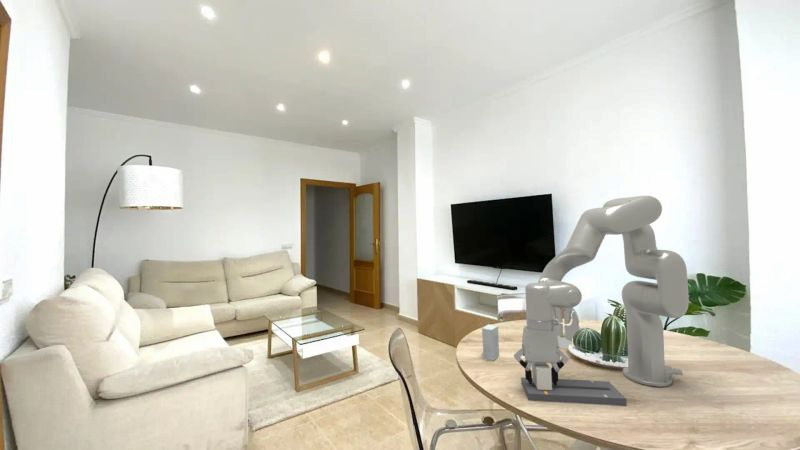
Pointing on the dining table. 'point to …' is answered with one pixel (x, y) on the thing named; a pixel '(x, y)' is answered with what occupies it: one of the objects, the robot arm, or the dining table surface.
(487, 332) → the skincare box
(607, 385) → the slider panel
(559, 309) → the ornament
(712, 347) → the dining table surface
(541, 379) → the fader tab
